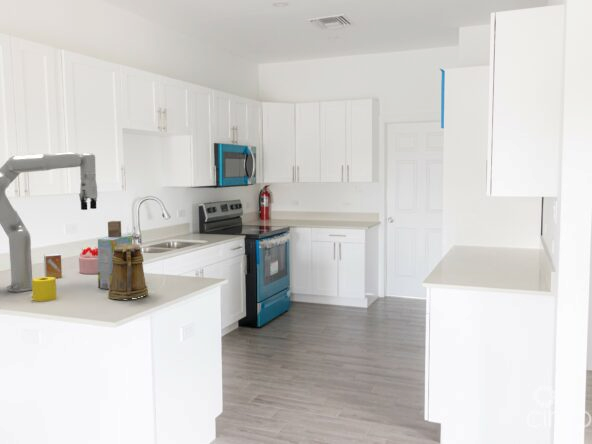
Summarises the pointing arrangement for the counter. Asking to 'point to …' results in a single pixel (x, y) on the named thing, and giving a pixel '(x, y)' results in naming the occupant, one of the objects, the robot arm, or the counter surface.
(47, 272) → the small box
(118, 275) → the tankard
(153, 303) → the counter surface
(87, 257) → the cake
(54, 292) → the tape roll
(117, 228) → the walnut block
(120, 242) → the snack box
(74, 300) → the counter surface
